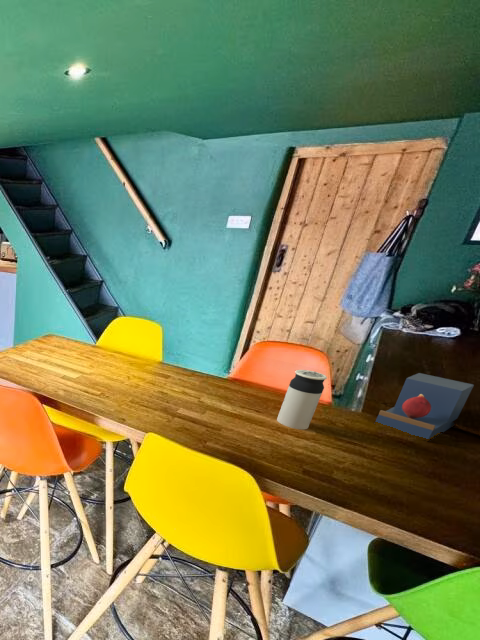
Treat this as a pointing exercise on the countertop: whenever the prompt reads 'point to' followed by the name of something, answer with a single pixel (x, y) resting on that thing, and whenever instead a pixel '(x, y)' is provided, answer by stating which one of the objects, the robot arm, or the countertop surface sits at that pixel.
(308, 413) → the travel mug
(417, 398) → the onion
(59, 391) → the countertop surface
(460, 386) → the stand
